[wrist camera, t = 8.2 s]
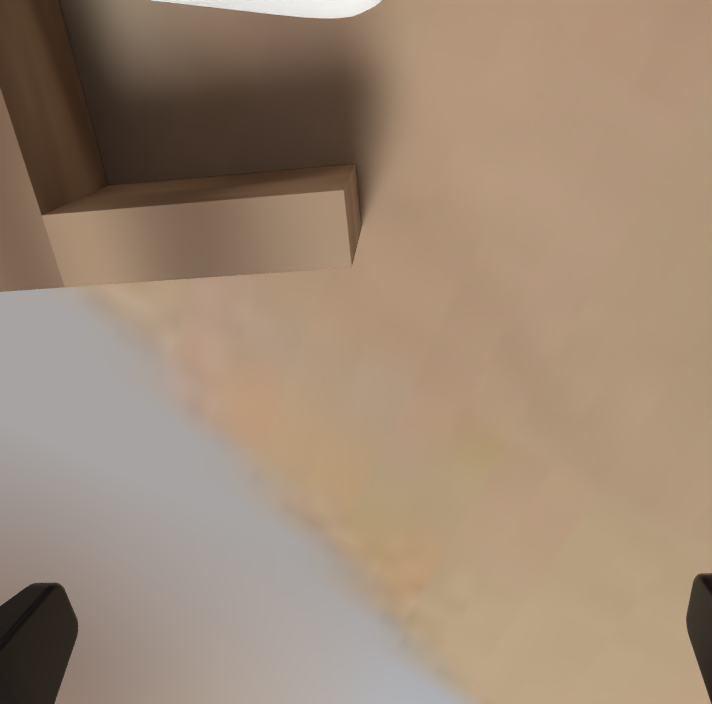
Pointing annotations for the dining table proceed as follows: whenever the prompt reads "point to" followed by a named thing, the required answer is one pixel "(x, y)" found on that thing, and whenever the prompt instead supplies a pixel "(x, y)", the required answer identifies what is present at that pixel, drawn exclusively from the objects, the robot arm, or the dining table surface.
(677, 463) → the dining table surface
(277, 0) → the mug
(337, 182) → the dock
